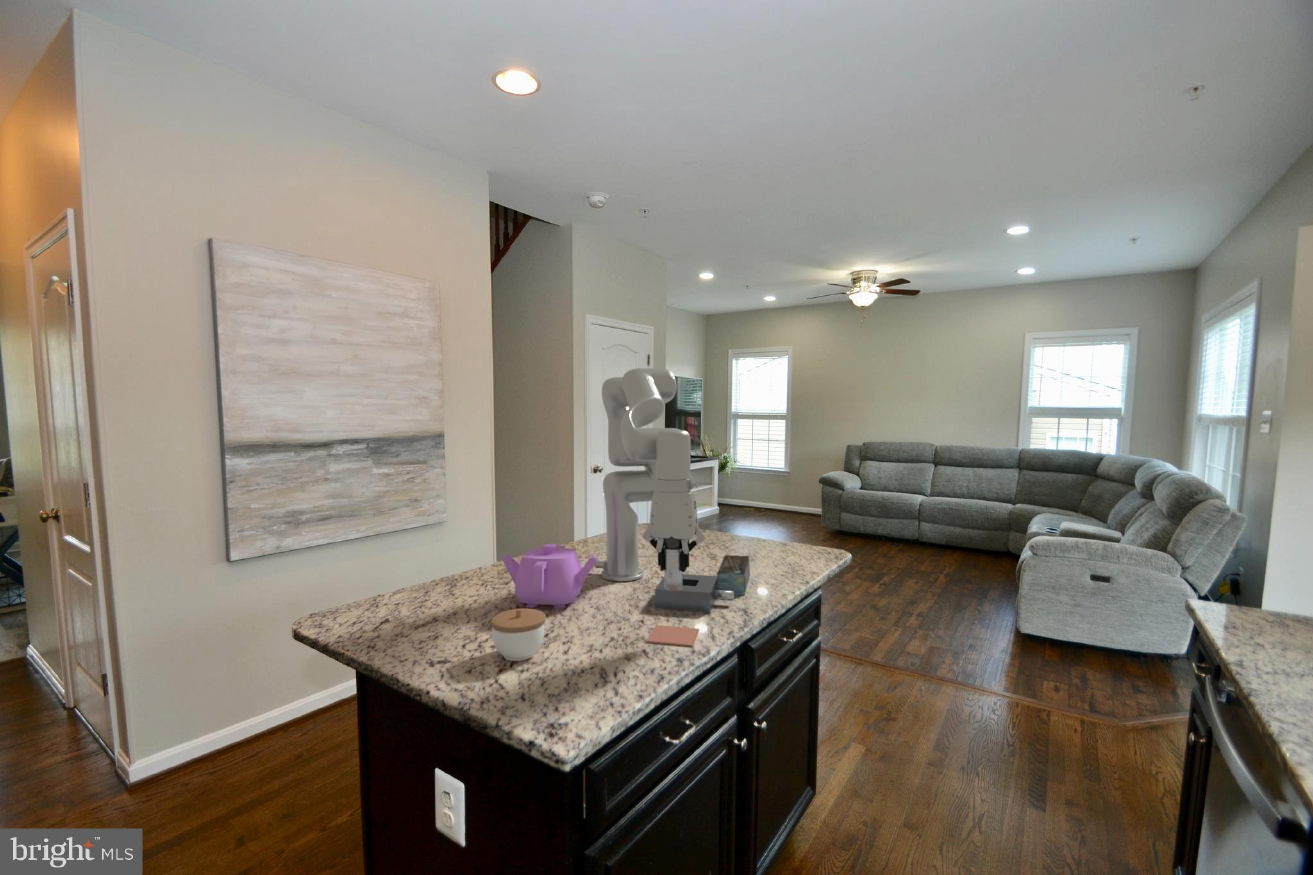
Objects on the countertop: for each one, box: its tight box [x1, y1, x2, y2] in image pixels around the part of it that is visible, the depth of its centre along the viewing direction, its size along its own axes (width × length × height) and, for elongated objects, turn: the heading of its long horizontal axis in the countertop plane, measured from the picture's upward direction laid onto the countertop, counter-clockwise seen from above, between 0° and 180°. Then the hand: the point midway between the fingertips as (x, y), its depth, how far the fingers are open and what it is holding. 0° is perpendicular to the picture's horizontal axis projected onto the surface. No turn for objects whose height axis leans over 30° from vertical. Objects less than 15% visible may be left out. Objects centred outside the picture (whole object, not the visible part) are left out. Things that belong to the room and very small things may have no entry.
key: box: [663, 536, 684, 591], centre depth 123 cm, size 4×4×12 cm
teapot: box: [501, 543, 598, 610], centre depth 147 cm, size 19×18×15 cm
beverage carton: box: [716, 554, 751, 596], centre depth 161 cm, size 8×19×7 cm, turn 166°
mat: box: [646, 624, 700, 648], centre depth 125 cm, size 10×9×1 cm
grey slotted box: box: [654, 573, 735, 614], centre depth 146 cm, size 19×14×5 cm
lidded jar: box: [490, 608, 546, 662], centre depth 115 cm, size 11×11×9 cm
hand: (673, 568), depth 124 cm, fingers closed on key, 4 cm apart
